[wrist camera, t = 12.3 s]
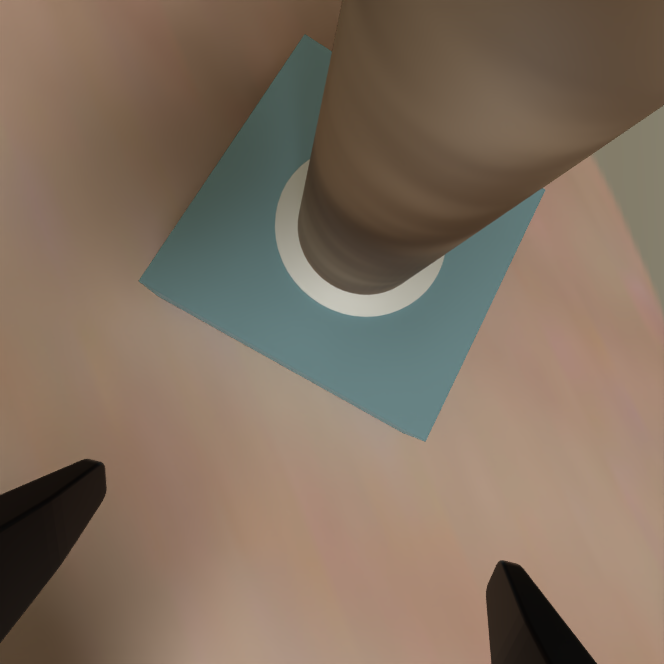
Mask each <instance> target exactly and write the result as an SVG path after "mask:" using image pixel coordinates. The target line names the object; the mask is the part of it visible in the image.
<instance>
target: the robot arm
mask: <svg viewBox="0 0 664 664" xmlns="http://www.w3.org/2000/svg"><path fill="white" fill-rule="evenodd" d="M105 494H106V475H105V466H104V464H103V463H102V462H99V461H95V460H91V459H84V460H81V461H78V462H76V463H74V464H71V465H69V466H67V467H64V468H62V469H60V470H57V471H55V472H53V473H50V474H48V475H46V476H43V477H41V478H39V479H36V480H34V481H32V482H29V483H27V484H25V485H22V486H20V487H18V488H15V489H13V490H11V491H8V492H6V493H4V494H1V495H0V643H1V641H2V640H3V639H4V637H5V636H6V635H7V634H8V632H9V631H10V630H11V628H12V627H13V626H14V625H15V623H16V622H17V621H18V620H19V618H20V617H21V616H22V614H23V613H24V612H25V611H26V609H27V608H28V607H29V605H30V604H31V603H32V602H33V600H34V599H35V598H36V596H37V595H38V594H39V593H40V591H41V590H42V589H43V587H44V586H45V585H46V584H47V582H48V581H49V580H50V578H51V577H52V576H53V575H54V573H55V572H56V571H57V569H58V568H59V567H60V565H61V564H62V562H63V561H64V559H65V558H66V557H67V555H68V554H69V552H70V551H71V549H72V547H73V546H74V544H75V543H76V541H77V540H78V538H79V537H80V535H81V534H82V532H83V530H84V529H85V527H86V526H87V524H88V523H89V521H90V520H91V518H92V516H93V515H94V513H95V512H96V510H97V509H98V507H99V506H100V504H101V503H102V501H103V499H104V497H105ZM486 603H487V615H488V628H489V640H490V652H491V664H597V663H596V662H595V660H594V659H593V658H592V657H591V655H590V654H589V653H588V651H587V650H586V649H585V648H584V646H583V645H582V644H581V642H580V641H579V640H578V638H577V637H576V636H575V635H574V633H573V632H572V631H571V629H570V628H569V627H568V626H567V624H566V623H565V622H564V620H563V619H562V618H561V617H560V615H559V614H558V613H557V611H556V610H555V609H554V608H553V606H552V605H551V604H550V602H549V601H548V600H547V598H546V597H545V596H544V595H543V593H542V592H541V591H540V589H539V588H538V587H537V586H536V584H535V583H534V582H533V580H532V579H531V578H530V577H529V575H528V574H527V573H526V571H525V570H524V569H523V568H522V567H521V566H520V565H518V564H516V563H512V562H508V561H504V560H501V561H499V562H498V563H497V565H496V567H495V569H494V572H493V574H492V576H491V578H490V580H489V583H488V585H487V589H486Z"/></svg>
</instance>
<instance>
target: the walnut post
mask: <svg viewBox="0 0 664 664" xmlns="http://www.w3.org/2000/svg"><path fill="white" fill-rule="evenodd" d="M663 105H664V0H342V5H341V10H340V15H339V20H338V25H337V30H336V34H335V39H334V44H333V49H332V54H331V59H330V64H329V69H328V74H327V78H326V83H325V88H324V93H323V98H322V103H321V108H320V113H319V118H318V122H317V127H316V132H315V137H314V142H313V147H312V152H311V157H310V162H309V166H308V171H307V176H306V181H305V186H304V191H303V196H302V201H301V206H300V210H299V216H298V237H299V242H300V245H301V249H302V251H303V253H304V256H305V257H306V259H307V261H308V263H309V264H310V265H311V267H312V268H313V269H314V271H315V272H316V273H317V274H318V275H319V276H320V277H321V278H323V279H324V280H325V281H326V282H328V283H329V284H331V285H333V286H334V287H336V288H338V289H341V290H343V291H346V292H349V293H353V294H359V295H373V294H380V293H384V292H387V291H389V290H392V289H394V288H396V287H398V286H399V285H401V284H403V283H404V282H405V281H407V280H408V279H410V278H411V277H413V276H414V275H416V274H417V273H419V272H420V271H422V270H423V269H425V268H426V267H427V266H429V265H430V264H432V263H433V262H435V261H436V260H438V259H439V258H441V257H442V256H444V255H445V254H446V253H448V252H449V251H451V250H452V249H454V248H455V247H457V246H458V245H460V244H461V243H463V242H464V241H466V240H467V239H468V238H470V237H471V236H473V235H474V234H476V233H477V232H479V231H480V230H482V229H483V228H485V227H486V226H487V225H489V224H490V223H492V222H493V221H495V220H496V219H498V218H499V217H501V216H502V215H504V214H505V213H507V212H508V211H509V210H511V209H512V208H514V207H515V206H517V205H518V204H520V203H521V202H523V201H524V200H526V199H527V198H529V197H530V196H531V195H533V194H534V193H536V192H537V191H539V190H540V189H542V188H543V187H545V186H546V185H548V184H549V183H550V182H552V181H553V180H555V179H556V178H558V177H559V176H561V175H562V174H564V173H565V172H567V171H568V170H570V169H571V168H572V167H574V166H575V165H577V164H578V163H580V162H581V161H583V160H584V159H586V158H587V157H589V156H590V155H592V154H593V153H594V152H596V151H597V150H599V149H600V148H602V147H603V146H605V145H606V144H608V143H609V142H611V141H612V140H613V139H615V138H616V137H618V136H619V135H621V134H622V133H624V132H625V131H627V130H628V129H630V128H631V127H632V126H634V125H635V124H637V123H638V122H640V121H641V120H643V119H644V118H646V117H647V116H649V115H650V114H652V113H653V112H654V111H656V110H657V109H659V108H660V107H662V106H663Z"/></svg>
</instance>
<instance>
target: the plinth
mask: <svg viewBox="0 0 664 664" xmlns="http://www.w3.org/2000/svg"><path fill="white" fill-rule="evenodd" d="M331 54H332V51H330V50H329V49H327V48H325V47H324V46H322V45H321V44H319V43H318V42H316V41H315V40H313V39H312V38H310V37H309V36H307V35H305V34H304V36H303V37H302V39H301V40H300V42H299V43H298V45H297V46H296V48H295V49H294V51H293V52H292V54H291V55H290V57H289V58H288V60H287V61H286V63H285V64H284V66H283V67H282V69H281V70H280V72H279V73H278V75H277V76H276V78H275V79H274V80H273V82H272V83H271V85H270V86H269V88H268V89H267V91H266V92H265V94H264V95H263V97H262V98H261V100H260V101H259V103H258V104H257V106H256V107H255V109H254V110H253V112H252V113H251V115H250V116H249V118H248V119H247V121H246V122H245V124H244V125H243V127H242V128H241V130H240V131H239V132H238V134H237V135H236V137H235V138H234V140H233V141H232V143H231V144H230V146H229V147H228V149H227V150H226V152H225V153H224V155H223V156H222V158H221V159H220V161H219V162H218V164H217V165H216V167H215V168H214V170H213V171H212V173H211V174H210V176H209V177H208V179H207V180H206V182H205V183H204V184H203V186H202V187H201V189H200V190H199V192H198V193H197V195H196V196H195V198H194V199H193V201H192V202H191V204H190V205H189V207H188V208H187V210H186V211H185V213H184V214H183V216H182V217H181V219H180V220H179V222H178V223H177V225H176V226H175V228H174V229H173V231H172V232H171V234H170V235H169V236H168V238H167V239H166V241H165V242H164V244H163V245H162V247H161V248H160V250H159V251H158V253H157V254H156V256H155V257H154V259H153V260H152V262H151V263H150V265H149V266H148V268H147V269H146V271H145V272H144V274H143V275H142V277H141V278H140V280H139V282H140V283H142V284H143V285H144V286H146V287H147V288H148V289H149V290H151V291H152V292H153V293H155V294H156V295H157V296H159V297H160V298H162V299H164V300H166V301H168V302H169V303H171V304H173V305H175V306H177V307H178V308H180V309H182V310H184V311H186V312H187V313H189V314H191V315H193V316H194V317H196V318H198V319H200V320H202V321H203V322H205V323H207V324H209V325H211V326H212V327H214V328H216V329H218V330H220V331H221V332H223V333H225V334H227V335H228V336H230V337H232V338H234V339H236V340H237V341H239V342H241V343H243V344H245V345H246V346H248V347H250V348H252V349H254V350H255V351H257V352H259V353H261V354H262V355H264V356H266V357H268V358H270V359H271V360H273V361H275V362H277V363H279V364H280V365H282V366H284V367H286V368H288V369H289V370H291V371H293V372H295V373H296V374H298V375H300V376H302V377H304V378H305V379H307V380H309V381H311V382H313V383H314V384H316V385H318V386H320V387H322V388H323V389H325V390H327V391H329V392H330V393H332V394H334V395H336V396H338V397H339V398H341V399H343V400H345V401H347V402H348V403H350V404H352V405H354V406H356V407H357V408H359V409H361V410H363V411H364V412H366V413H368V414H370V415H372V416H373V417H375V418H377V419H379V420H381V421H382V422H384V423H386V424H388V425H390V426H391V427H393V428H395V429H397V430H398V431H400V432H402V433H404V434H407V435H410V436H412V437H415V438H417V439H420V440H422V441H425V442H426V439H427V437H428V435H429V433H430V431H431V429H432V427H433V425H434V423H435V421H436V418H437V416H438V414H439V412H440V410H441V408H442V406H443V404H444V402H445V399H446V397H447V395H448V393H449V391H450V389H451V387H452V385H453V383H454V381H455V378H456V376H457V374H458V372H459V370H460V368H461V366H462V364H463V362H464V360H465V357H466V355H467V353H468V351H469V349H470V347H471V345H472V343H473V341H474V339H475V336H476V334H477V332H478V330H479V328H480V326H481V324H482V322H483V320H484V318H485V315H486V313H487V311H488V309H489V307H490V305H491V303H492V301H493V299H494V297H495V294H496V292H497V290H498V288H499V286H500V284H501V282H502V280H503V278H504V276H505V273H506V271H507V269H508V267H509V265H510V263H511V261H512V259H513V257H514V255H515V252H516V250H517V248H518V246H519V244H520V242H521V240H522V238H523V236H524V234H525V231H526V229H527V227H528V225H529V223H530V221H531V219H532V217H533V215H534V213H535V210H536V208H537V206H538V204H539V202H540V200H541V198H542V196H543V194H544V192H545V189H543V188H542V189H540V190H539V191H537V192H536V193H534V194H533V195H531V196H530V197H529V198H527V199H526V200H524V201H523V202H521V203H520V204H518V205H517V206H515V207H514V208H512V209H511V210H509V211H508V212H507V213H505V214H504V215H502V216H501V217H499V218H498V219H496V220H495V221H493V222H492V223H490V224H489V225H487V226H486V227H485V228H483V229H482V230H480V231H479V232H477V233H476V234H474V235H473V236H471V237H470V238H468V239H467V240H466V241H464V242H463V243H461V244H460V245H458V246H457V247H455V248H454V249H452V250H451V251H449V252H448V253H446V254H445V255H444V256H442V257H441V258H439V259H438V260H436V261H435V262H433V263H432V264H430V265H429V266H427V267H426V268H425V269H423V270H422V271H420V272H419V273H417V274H416V275H414V276H413V277H411V278H410V279H408V280H407V281H405V282H404V283H403V284H401V285H399V286H398V287H396V288H394V289H392V290H389V291H387V292H384V293H380V294H373V295H359V294H353V293H349V292H346V291H343V290H341V289H338V288H336V287H334V286H333V285H331V284H329V283H328V282H326V281H325V280H324V279H323V278H321V277H320V276H319V275H318V274H317V273H316V272H315V271H314V269H313V268H312V267H311V265H310V264H309V263H308V261H307V259H306V257H305V256H304V253H303V251H302V249H301V245H300V242H299V237H298V216H299V210H300V206H301V201H302V196H303V191H304V186H305V181H306V176H307V171H308V166H309V162H310V157H311V152H312V147H313V142H314V137H315V132H316V127H317V122H318V118H319V113H320V108H321V103H322V98H323V93H324V88H325V83H326V78H327V74H328V69H329V64H330V59H331Z"/></svg>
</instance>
